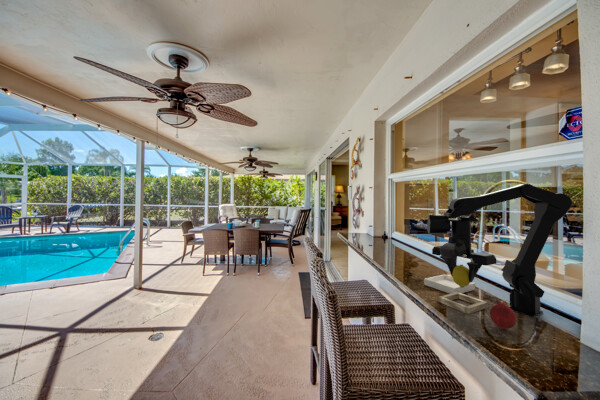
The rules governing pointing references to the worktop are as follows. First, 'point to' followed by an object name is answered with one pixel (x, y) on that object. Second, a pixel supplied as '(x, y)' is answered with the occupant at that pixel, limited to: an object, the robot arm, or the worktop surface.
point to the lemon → (461, 275)
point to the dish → (447, 284)
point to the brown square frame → (469, 309)
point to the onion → (503, 315)
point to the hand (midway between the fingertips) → (461, 279)
